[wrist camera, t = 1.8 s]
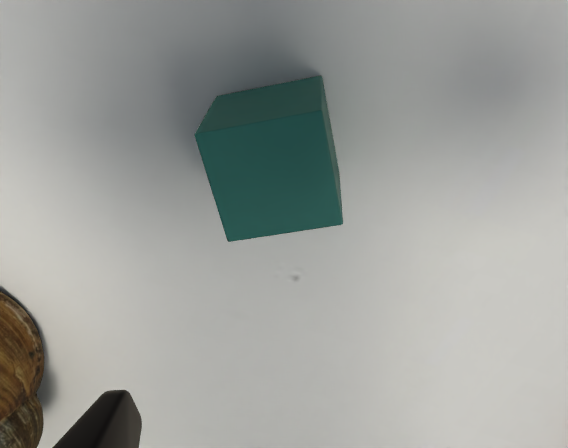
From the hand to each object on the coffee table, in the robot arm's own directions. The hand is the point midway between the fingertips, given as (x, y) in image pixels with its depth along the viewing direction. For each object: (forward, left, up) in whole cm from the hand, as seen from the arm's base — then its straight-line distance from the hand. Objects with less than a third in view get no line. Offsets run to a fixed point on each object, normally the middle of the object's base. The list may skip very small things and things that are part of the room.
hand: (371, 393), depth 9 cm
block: (-2, +1, -13) cm, 13 cm away
